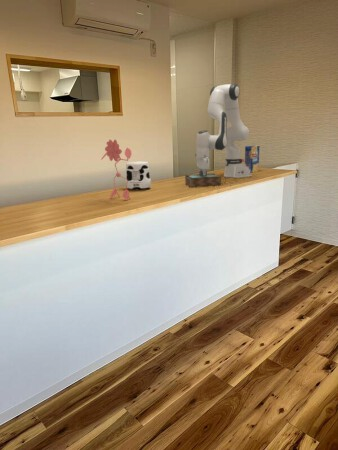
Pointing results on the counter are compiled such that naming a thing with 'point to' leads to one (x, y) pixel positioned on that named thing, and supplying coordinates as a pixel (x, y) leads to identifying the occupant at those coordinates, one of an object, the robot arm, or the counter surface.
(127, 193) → the figurine
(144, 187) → the milk container
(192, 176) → the cover plate
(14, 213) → the counter surface
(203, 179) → the walnut box
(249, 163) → the beverage box
